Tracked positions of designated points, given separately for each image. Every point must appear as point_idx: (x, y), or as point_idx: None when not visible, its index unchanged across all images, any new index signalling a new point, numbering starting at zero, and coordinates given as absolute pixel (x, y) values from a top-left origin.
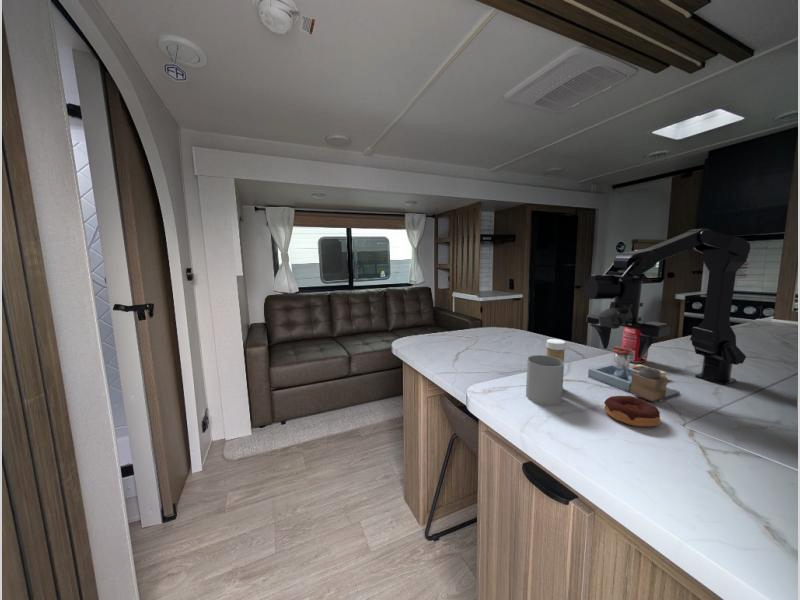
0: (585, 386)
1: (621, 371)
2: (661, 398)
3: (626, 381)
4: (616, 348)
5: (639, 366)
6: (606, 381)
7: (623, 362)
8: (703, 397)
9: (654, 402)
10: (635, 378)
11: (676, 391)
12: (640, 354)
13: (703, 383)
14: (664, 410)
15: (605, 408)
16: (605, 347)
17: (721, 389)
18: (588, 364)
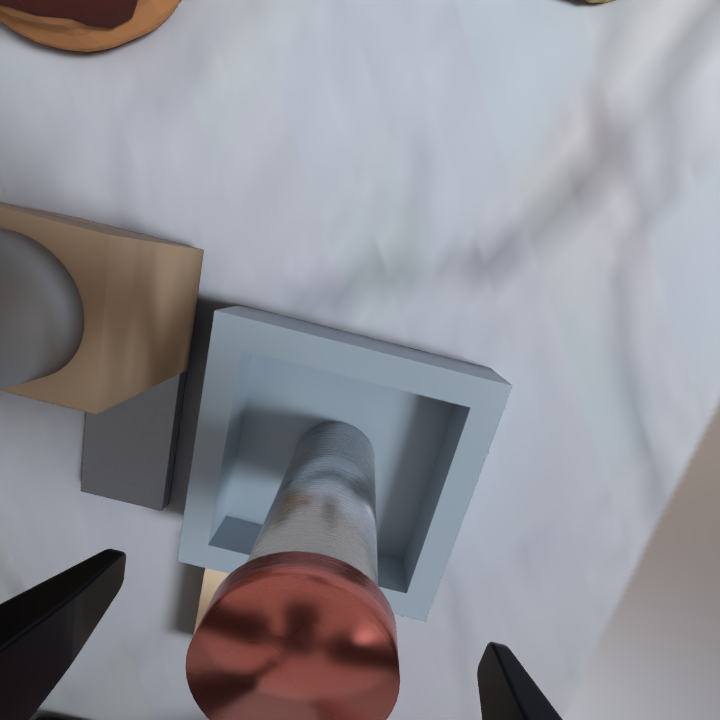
0: (446, 183)
1: (309, 453)
2: None
3: (241, 333)
4: (342, 626)
5: None
6: (371, 341)
7: (285, 502)
8: (23, 520)
9: None
10: (103, 230)
11: (90, 483)
12: (57, 578)
13: (90, 685)
14: (38, 197)
15: None
16: (492, 661)
17: None
18: (557, 582)
